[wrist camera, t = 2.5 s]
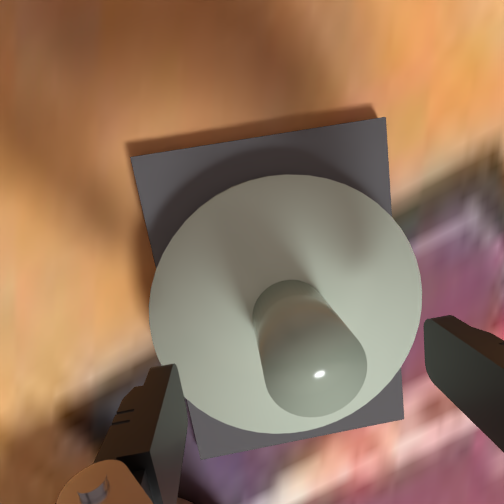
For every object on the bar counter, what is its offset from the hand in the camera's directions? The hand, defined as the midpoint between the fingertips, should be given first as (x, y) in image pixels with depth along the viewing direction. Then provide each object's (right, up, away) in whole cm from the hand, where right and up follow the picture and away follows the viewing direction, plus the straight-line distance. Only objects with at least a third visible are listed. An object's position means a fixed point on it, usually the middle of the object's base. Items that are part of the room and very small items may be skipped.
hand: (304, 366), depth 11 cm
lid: (0, +1, +4) cm, 4 cm away
